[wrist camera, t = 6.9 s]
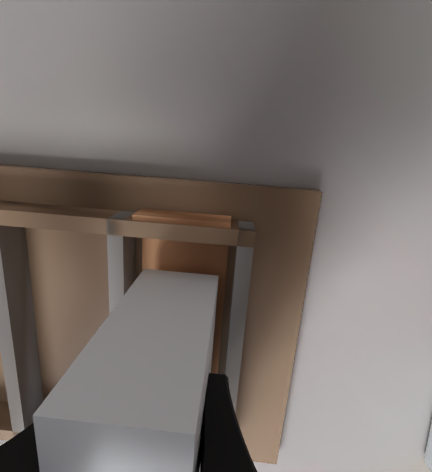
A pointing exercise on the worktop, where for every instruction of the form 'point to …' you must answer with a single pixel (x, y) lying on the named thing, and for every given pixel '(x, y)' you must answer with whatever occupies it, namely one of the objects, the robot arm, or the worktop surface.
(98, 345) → the blanking panel
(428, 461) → the small box
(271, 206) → the slot rack
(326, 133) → the worktop surface
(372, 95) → the worktop surface
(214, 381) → the robot arm
